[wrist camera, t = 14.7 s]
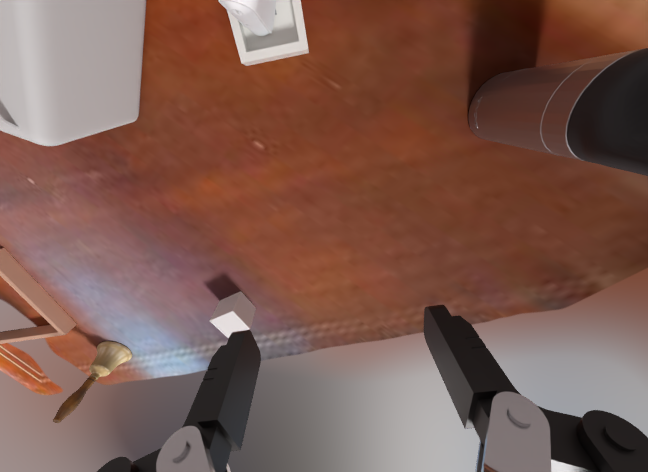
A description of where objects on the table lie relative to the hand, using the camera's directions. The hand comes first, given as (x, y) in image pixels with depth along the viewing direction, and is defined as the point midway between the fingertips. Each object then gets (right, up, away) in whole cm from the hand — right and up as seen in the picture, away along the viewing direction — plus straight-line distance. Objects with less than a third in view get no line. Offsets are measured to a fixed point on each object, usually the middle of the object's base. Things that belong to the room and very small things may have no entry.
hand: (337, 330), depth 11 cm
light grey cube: (-21, -11, +45) cm, 51 cm away
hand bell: (-55, -26, +52) cm, 80 cm away
